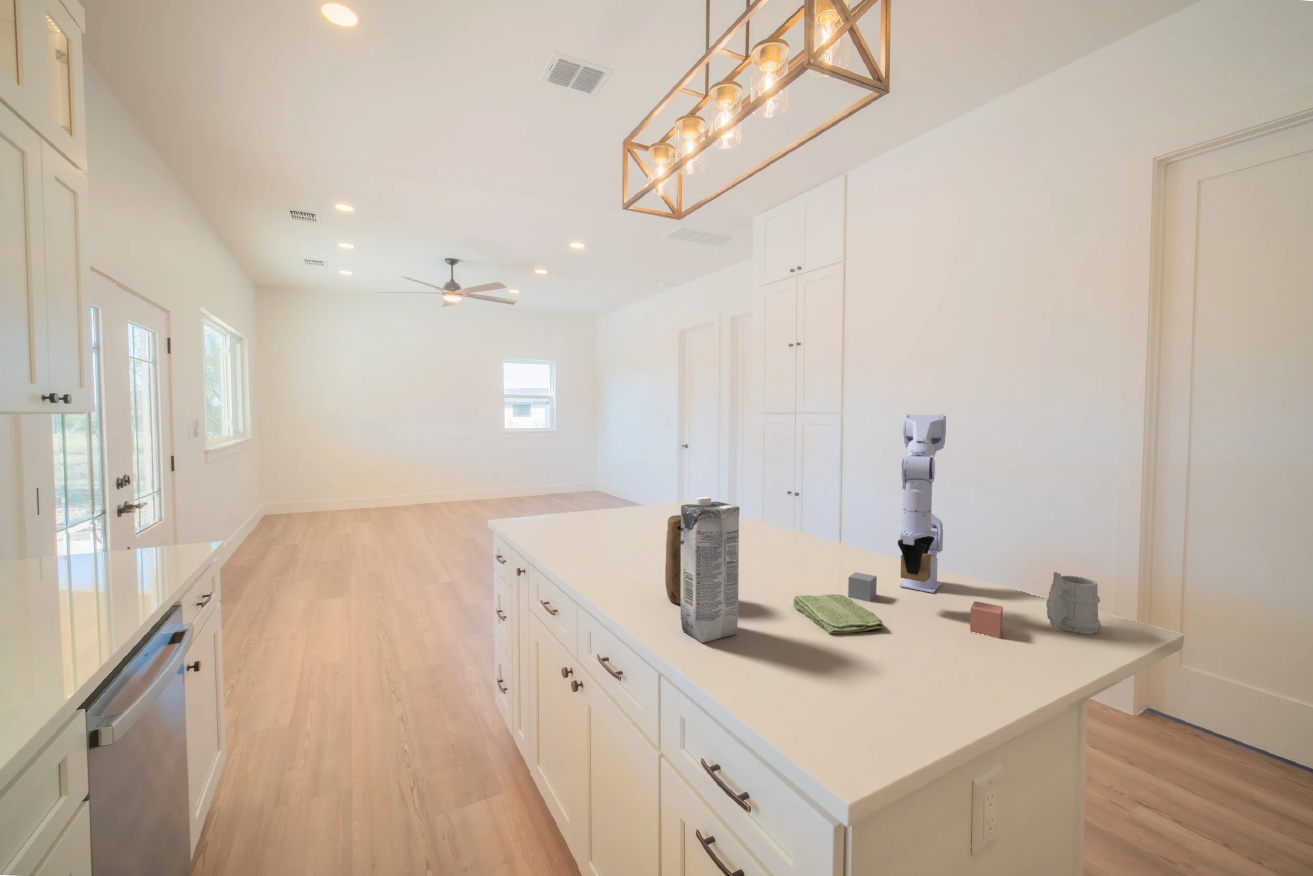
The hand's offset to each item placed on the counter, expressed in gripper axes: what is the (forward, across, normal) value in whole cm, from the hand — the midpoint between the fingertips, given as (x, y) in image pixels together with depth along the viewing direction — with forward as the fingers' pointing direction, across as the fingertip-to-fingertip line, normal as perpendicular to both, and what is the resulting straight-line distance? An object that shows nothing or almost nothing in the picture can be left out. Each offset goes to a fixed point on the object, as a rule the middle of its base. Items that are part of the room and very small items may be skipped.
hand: (915, 570), depth 117 cm
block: (+9, -26, +43) cm, 51 cm away
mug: (+9, +9, -27) cm, 30 cm away
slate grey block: (+9, +2, +12) cm, 15 cm away
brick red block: (+9, -3, -14) cm, 17 cm away
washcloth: (+10, -15, +12) cm, 22 cm away
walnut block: (+2, 0, 0) cm, 2 cm away
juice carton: (+9, -39, +29) cm, 50 cm away
